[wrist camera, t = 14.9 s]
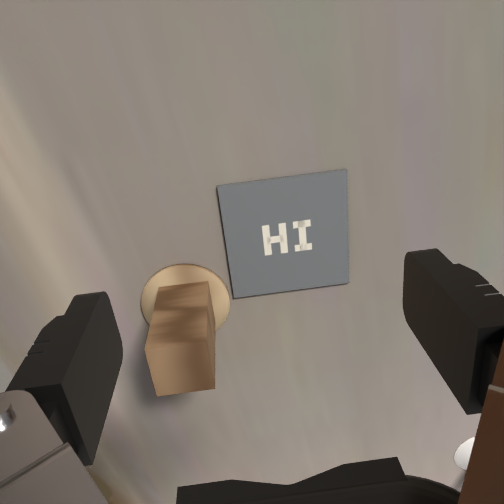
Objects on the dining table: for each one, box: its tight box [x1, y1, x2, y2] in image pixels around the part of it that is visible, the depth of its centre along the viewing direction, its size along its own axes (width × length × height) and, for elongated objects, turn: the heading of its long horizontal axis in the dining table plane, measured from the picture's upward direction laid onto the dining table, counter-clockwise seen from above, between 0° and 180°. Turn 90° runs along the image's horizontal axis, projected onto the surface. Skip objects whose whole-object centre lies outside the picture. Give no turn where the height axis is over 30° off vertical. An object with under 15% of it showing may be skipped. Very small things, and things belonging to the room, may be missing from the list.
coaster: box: [141, 264, 230, 331], centre depth 47 cm, size 9×9×1 cm
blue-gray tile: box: [217, 169, 349, 298], centre depth 44 cm, size 12×12×1 cm
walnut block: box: [144, 281, 215, 396], centre depth 42 cm, size 5×5×10 cm
